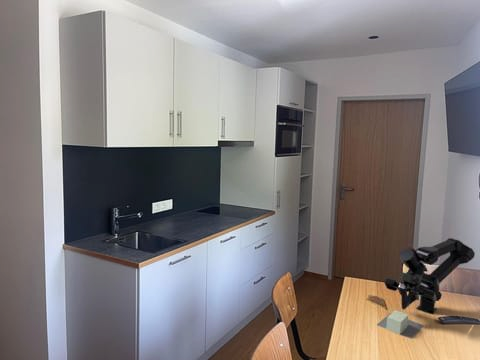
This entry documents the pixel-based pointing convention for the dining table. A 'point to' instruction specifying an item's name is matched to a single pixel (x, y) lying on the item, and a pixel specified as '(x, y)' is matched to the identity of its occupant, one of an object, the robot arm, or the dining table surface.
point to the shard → (376, 301)
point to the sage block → (397, 322)
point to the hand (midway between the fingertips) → (402, 308)
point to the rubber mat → (409, 331)
